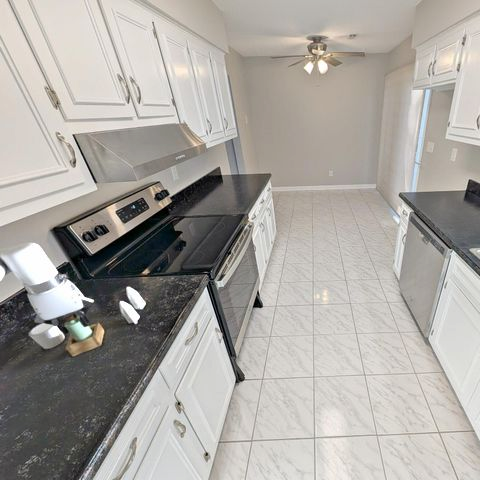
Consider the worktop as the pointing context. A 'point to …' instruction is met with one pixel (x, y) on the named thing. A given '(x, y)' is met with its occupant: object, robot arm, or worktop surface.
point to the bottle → (77, 327)
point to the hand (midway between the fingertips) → (77, 327)
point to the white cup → (47, 335)
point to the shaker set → (128, 309)
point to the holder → (86, 341)
